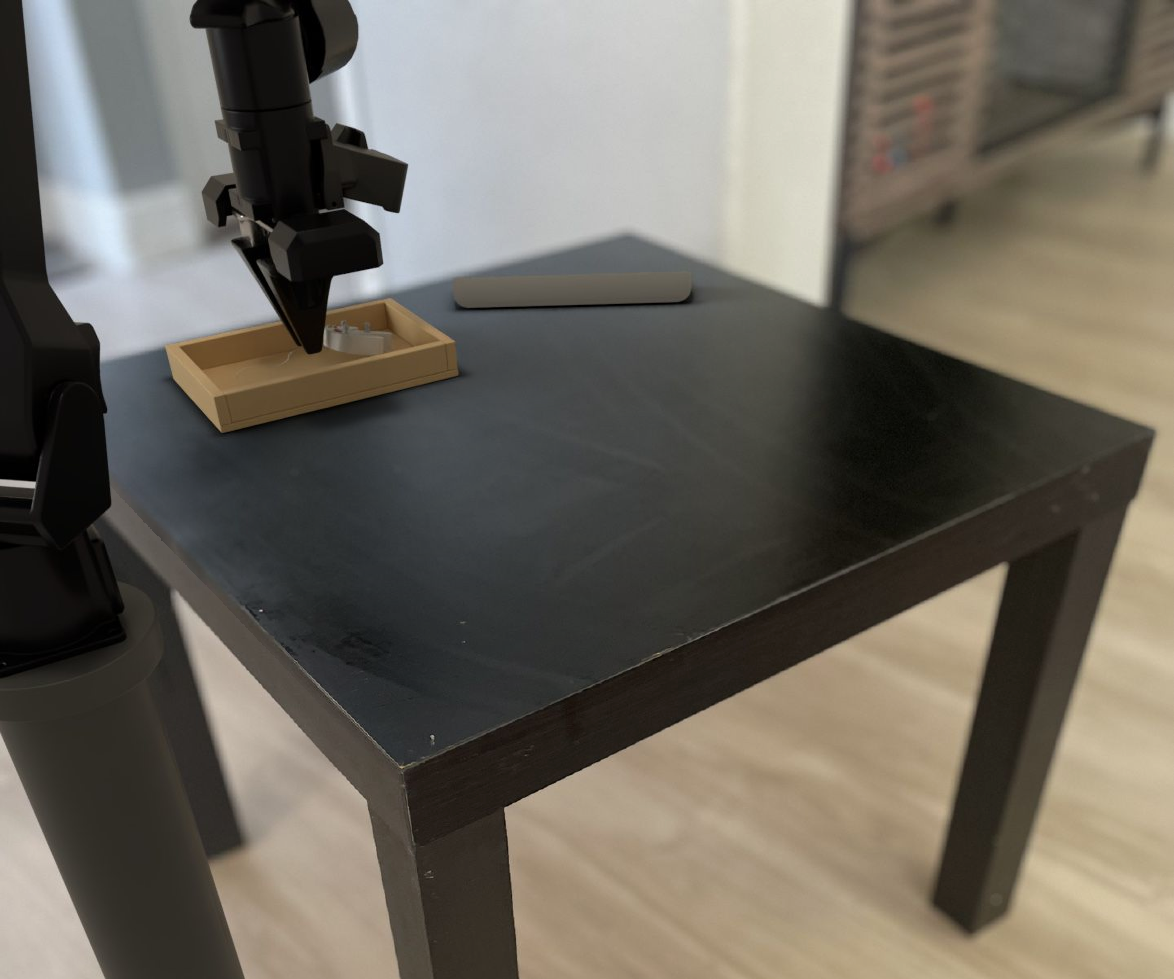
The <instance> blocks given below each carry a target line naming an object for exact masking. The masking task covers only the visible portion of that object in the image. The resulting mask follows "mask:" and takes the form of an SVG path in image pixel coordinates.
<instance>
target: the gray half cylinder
mask: <svg viewBox="0 0 1174 979" xmlns="http://www.w3.org/2000/svg"><path fill="white" fill-rule="evenodd" d="M693 281H694V280H693V272H692V270H679V271H677V270H676V271H646V272H645V271H644V272H640V271H639V272H613V273H610V272H609V273H608V272H607V273H583V274H582V273H579V274H575V273H573V274H540V275H538V274H537V275H508V276H507V275H506V276H504V275H503V276H472V277H468V276H467V277H453V279H452V295H453V298H454V301H455V302H456V303H457V305H459V306H461V307H463V308H467V309H472V308H473V309H474V308H477V309H478V308H506V307H508V308H510V307H544V306H545V307H547V306H548V307H549V306H579V305H581V306H582V305H583V306H584V305H615V304H617V305H618V304H620V305H621V304H651V303H653V304H654V303H655V304H656V303H679V302H682V301H685V300H686V299H687V298H688V297H690V295H691V293H692V290H693Z"/></svg>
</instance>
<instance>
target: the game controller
mask: <svg viewBox="0 0 1174 979" xmlns="http://www.w3.org/2000/svg"><path fill="white" fill-rule="evenodd" d="M341 324H342V326H337V325H334V326H333V325H331V324H329V325H327V327H325V329H324V346H326V347H328V348H330V349H333V350H336V351H340V352H344V353H349V354H360V355H381V354H383V351H390V350H392V333H389V332H379V331H370V330H369V328H370V323H369V322H366V323H365V331H359V330H358V328H357V327H349V326H348V324H347V322H346V320H342V322H341ZM302 348H303V347H302ZM299 349H300V348H299ZM324 349H326V348H324ZM296 350H297V349H296ZM294 351H295V350H294ZM292 352H293V351H292ZM292 352H291V353H292ZM291 353H290V354H291ZM290 354H289V355H290ZM289 355H288V359H289ZM288 359H287V360H288ZM287 360H286V361H287ZM286 361H285V362H286ZM285 362H284V363H285ZM282 364H283V363H282ZM280 365H281V364H280ZM251 366H253V365H251ZM277 366H279V365H277ZM248 367H250V366H248ZM274 367H276V366H274ZM245 368H247V367H245ZM265 368H271V367H265ZM243 369H244V368H243ZM241 370H242V369H241ZM241 370H240V371H241ZM237 374H238V372H237ZM237 374H236V375H237ZM237 377H238V376H237ZM238 379H239V378H238Z"/></svg>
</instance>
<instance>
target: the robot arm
mask: <svg viewBox="0 0 1174 979" xmlns="http://www.w3.org/2000/svg"><path fill="white" fill-rule="evenodd" d="M23 6H24V5H23V0H0V480H1V481H2V480H3V481H15V482H29V483H35V485H34V487H22V486H9V485H8V486H7V485H0V678H4V677H8V676H11V675H14V674H18V673H21V672H24V671H28V670H31V669H34V668H38V667H41V666H44V665H48V664H51V663H54V662H58V661H61V660H64V659H68V658H71V657H74V656H78V655H81V654H84V653H88V652H91V651H94V650H98V649H101V648H104V647H108V646H111V645H114V644H118V643H121V642H123V641H124V640H126V638H127V634H126V631H125V628H124V626H123V625H122V623H121V621H120V619H119V617H118V616H117V614H121V613H123V611H124V609H125V606H124V603H123V600H122V597H121V594H120V591H119V587H118V584H117V579H116V575H115V571H114V569H113V565H112V562H111V559H110V556H109V553H108V550H107V546H106V543H105V541H104V539H103V537H102V536H101V534H100V532H99V530H98V529H97V528H96V526H95V522H96V521H97V520H98V519H99V518H101V517H102V515H104V514H105V513H106V512H107V511H108V510H109V509H110V508H111V507H112V492H111V482H110V481H111V480H110V470H109V459H108V458H109V457H108V447H107V435H106V434H107V433H106V424H105V423H106V422H105V416H104V415H105V414H108V407H107V403H106V399H105V396H104V392H103V386H102V379H101V342H100V339H99V337H98V335H97V332H96V330H95V327H94V326H93V325H92V324H91V323H90V322H83V321H82V322H81V321H74V319H73V318H72V317H71V315H70V313H69V312H68V310H67V309H66V308H65V306H64V304H63V303H62V301H61V300H60V298H59V297H58V295H57V294H56V292H55V290H54V289H53V288H52V286H51V284H50V282H49V277H48V270H47V263H46V262H47V261H46V260H47V259H46V250H45V240H44V239H45V238H44V228H43V217H42V207H41V205H42V204H41V195H40V193H41V192H40V184H39V182H40V181H39V173H38V162H37V151H36V138H35V128H34V127H35V126H34V116H33V106H32V105H33V104H32V96H31V86H30V85H31V84H30V83H31V82H30V74H29V61H28V52H27V51H28V50H27V39H26V28H25V18H24V7H23ZM188 20H189V24H190V26H191V27H192V28H193V29H194V30H195V29H196V30H201V29H202V30H205V34H206V40H207V44H208V50H209V54H210V60H211V66H212V71H213V75H214V81H215V85H216V86H215V87H216V90H217V96H218V100H219V107H220V113H221V118H222V119H215V120H214V125H215V129H216V136H217V138H218V139H219V140H221V141H223V142H225V143H227V148H228V154H229V157H230V163H231V167H232V168H231V169H232V172H228V173H222V174H216V175H215V174H214V175H211V176H210V177H209V179H208V180H207V182H206V184H205V185H204V186H203V189H202V190H201V192H200V193H201V197H202V202H203V206H204V211H205V216H206V220H207V221H208V222H210V223H211V224H213V225H214V226H215V227H216V228H223V227H227V221H228V217H231V216H233V217H235V218H236V219H238V223H239V230H240V233H241V236H238V237H235V238H232V239H231V240H230V243H231V246H232V247H233V249H234V250H235V251H236V252H237V254H238V256H239V257H240V258H241V260H242V261H243V263H244V265H245V266H246V268H247V269H248V271H249V272H250V274H251V275H252V277H253V279H254V280H255V282H256V283H257V285H258V286H259V288H260V290H261V291H262V293H263V294H264V296H265V297H266V299H267V300H268V302H269V304H270V306H271V307H272V309H273V310H274V312H275V313H276V315H277V316H278V318H279V321H282V323H283V324H284V326H285V328H286V329H287V331H288V332H289V334H290V336H291V337H292V339H293V341H294V342H295V344H296V345H297V346H300V347H301V346H302V347H303V349H304V350H305V352H306V353H307V354H309V355H311V354H316V353H320V352H321V351H322V346H323V338H324V329H325V321H326V313H327V311H328V303H329V296H330V290H331V285H332V281H333V279H334V277H336V276H343V275H347V274H352V273H357V272H362V271H367V270H368V271H369V270H373V269H377V268H380V267H382V266H383V265H384V263H385V262H384V257H383V249H382V241H381V233H380V232H379V231H378V230H376V229H375V228H374V227H373V226H372V225H370V224H369V222H366V220H364V219H363V218H361V217H359V216H357V215H355V214H354V213H352V212H351V211H348V210H347V209H345V200H344V199H348V200H352V201H354V202H355V201H356V202H360V203H364V204H369V205H373V206H377V207H381V208H382V209H383V210H384V211H386V212H389V213H393V214H400V213H401V207H402V202H403V197H404V191H405V186H406V180H407V174H408V169H409V164H408V163H407V162H405V161H403V160H400V159H399V158H397V157H394V156H392V155H390V154H387V153H384V152H382V151H379V150H376V149H373V148H369V145H368V141H367V138H366V137H367V136H366V134H365V132H364V131H363V130H360V129H358V128H356V127H353V126H349V125H345V124H341V123H337V122H336V123H335V124H334V126H333V128H332V129H331V127H330V125H329V124H328V123H326V121H325V119H322V118H320V117H318V116H316V115H315V111H314V106H313V105H314V104H313V99H312V92H311V86H310V85H312V84H313V83H315V82H318V81H320V80H321V79H323V78H326V77H328V76H330V75H332V74H335V72H337V71H340V70H341V69H343V68H344V67H345V66H347V65H348V64H349V62H350V61H351V60H352V59H353V56H354V54H355V53H356V50H357V48H358V42H359V21H358V17H357V15H356V14H355V11H354V9H353V6H352V3H351V2H350V1H349V0H196V1H195V2H194V3H193V5H192V7H191V10H190V14H189V19H188ZM322 210H323V212H320V211H322ZM324 210H326V211H325V212H324Z"/></svg>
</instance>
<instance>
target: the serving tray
mask: <svg viewBox="0 0 1174 979" xmlns="http://www.w3.org/2000/svg"><path fill="white" fill-rule="evenodd" d="M342 320H346V322H347V324H348V326H349V327H357V328H358V330H359V331H365V323H366V322H369V323H370V328H369V330H370V331H379V332H389V333H392V350H390V351H383V354H381V355H360V354H349V353H344V352H340V351H336V350H333V349H330V348H328V347H326V346H324V338H323V346H322V351H321V352H320V353H316V354H311V355H309V354H307V353H306V352H305V350H304V349H303V348H302V346H301V347H300V346H297V345H296V344H295V342H294V341H293V339H292V337H291V336H290V334H289V332H288V331H287V329H286V328H285V326H284V324H283V323H282V321H281V320H279V321H274V322H270V323H269V322H268V323H265V324H260V325H255V326H250V327H246V328H240V329H236V330H231V331H227V332H222V333H218V334H212V335H207V336H202V337H198V338H193V339H190V340H184V341H179V342H176V343H175V342H174V343H171V344H166V345H164V346H165V351H166V355H167V358H168V362H169V363H168V364H169V367H170V371H171V373H172V379H173V380H174V382H175V383H176V384H177V385H178V386H179V388H181V389H182V390H183V392H184V393H185V394H186V395H187V396H188V397H189V398H190V400H192V401H193V403H194V404H195V405H196V406H197V407H198V408H199V409H200V411H201V412H203V414H204V415H205V416H206V417H207V419H208V420H209V421H211V423H212V424H213V425H214V426H215V427H216V428H217V429H218V431H219V432H220V433H221V434H225V433H228V432H234V431H236V430H241V429H244V428H249V427H253V426H254V427H255V426H257V425H262V424H266V423H270V422H274V421H277V420H278V421H279V420H281V419H286V418H291V417H295V416H298V415H302V414H303V415H304V414H307V413H310V412H315V411H318V410H323V409H327V408H331V407H335V406H341V405H344V404H348V403H351V402H355V401H360V400H365V399H368V398H372V397H376V396H380V395H385V394H388V393H389V394H390V393H393V392H396V391H400V390H405V389H410V388H413V387H418V386H421V385H426V384H430V383H434V382H437V381H441V380H447V379H450V378H451V379H452V378H454V377H458V376H459V368H458V366H459V365H458V356H457V347H456V346H457V345H456V341H455V340H454V339H452V338H451V337H450V336H448V335H446V334H445V333H444V332H442V331H440V330H439V329H437V328H436V327H434V326H433V325H432V324H430V323H429V322H427V321H426V320H424V319H422V318H421V317H419V316H418V315H416V314H415V313H414V312H412V311H410V310H409V309H408V308H406V307H405V306H403V305H401V304H400V303H398V302H397V301H396V300H394V299H393V298H391V297H388V298H383V299H378V300H373V301H369V302H364V303H358V304H354V305H350V306H345V307H340V308H335V309H330V310H327V313H326V321H325V327H327V325H329V324H331V325H333V326H334V325H337V326H342V324H341V322H342ZM299 348H300V349H299ZM324 348H326V349H324ZM296 349H297V350H296ZM294 350H295V351H294ZM292 351H293V352H292ZM291 352H292V353H291ZM290 353H291V354H290ZM289 354H290V355H289ZM288 355H289V359H288ZM287 359H288V360H287ZM286 360H287V361H286ZM285 361H286V362H285ZM284 362H285V363H284ZM282 363H283V364H282ZM280 364H281V365H280ZM251 365H253V366H251ZM277 365H279V366H277ZM248 366H250V367H248ZM274 366H276V367H274ZM245 367H247V368H245ZM265 367H271V368H265ZM243 368H244V369H243ZM241 369H242V370H241ZM240 370H241V371H240ZM237 372H238V374H237ZM236 374H237V375H236ZM237 376H238V377H237ZM238 378H239V379H238Z"/></svg>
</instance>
